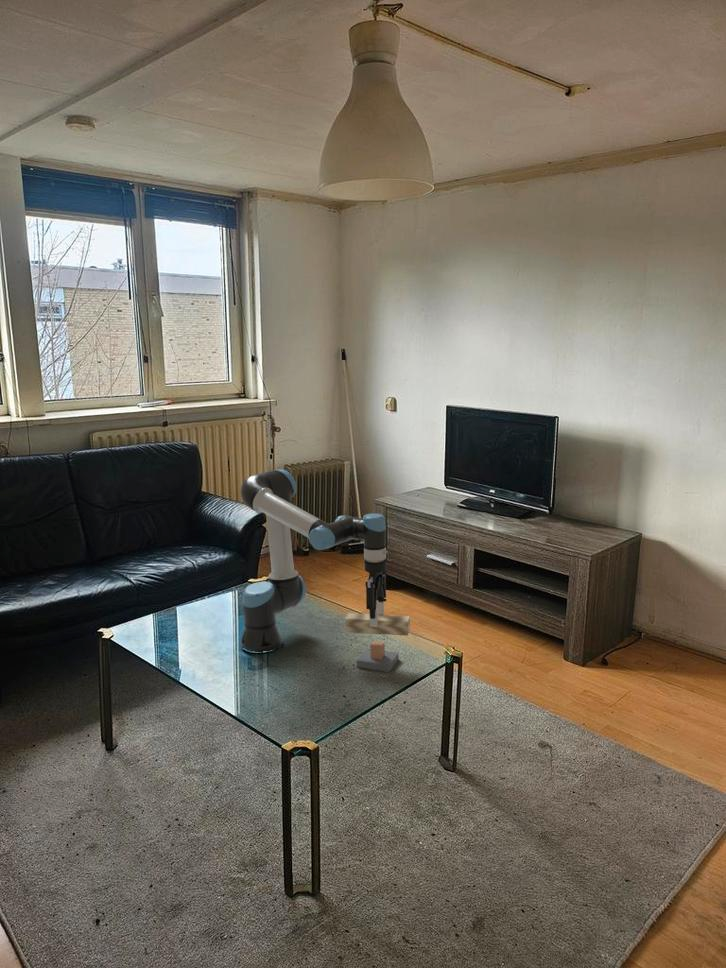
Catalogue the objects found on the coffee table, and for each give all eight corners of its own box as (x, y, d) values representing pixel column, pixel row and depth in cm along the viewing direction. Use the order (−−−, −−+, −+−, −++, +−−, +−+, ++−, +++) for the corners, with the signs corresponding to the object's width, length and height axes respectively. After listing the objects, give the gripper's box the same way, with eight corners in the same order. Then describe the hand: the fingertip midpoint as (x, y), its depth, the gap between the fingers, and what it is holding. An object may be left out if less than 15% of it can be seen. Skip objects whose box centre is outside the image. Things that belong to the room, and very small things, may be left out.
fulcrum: (356, 666, 239) (356, 646, 238) (367, 654, 248) (366, 635, 247) (389, 672, 235) (388, 651, 233) (398, 659, 244) (398, 639, 242)
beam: (409, 629, 239) (409, 616, 238) (407, 635, 235) (407, 621, 234) (348, 626, 244) (347, 613, 243) (345, 632, 239) (344, 618, 238)
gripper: (375, 568, 224) (377, 635, 229) (394, 552, 241) (396, 614, 246) (354, 566, 227) (356, 632, 231) (374, 550, 244) (376, 611, 248)
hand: (377, 622), depth 239 cm, fingers closed on beam, 6 cm apart
